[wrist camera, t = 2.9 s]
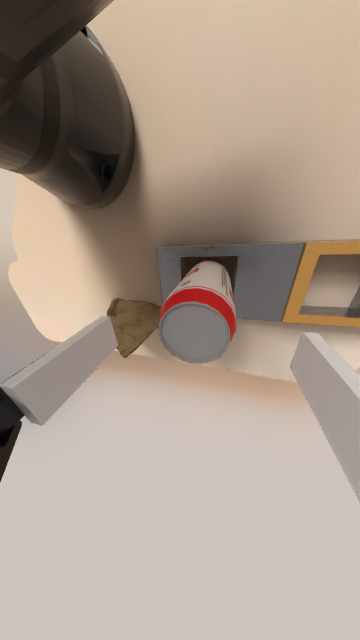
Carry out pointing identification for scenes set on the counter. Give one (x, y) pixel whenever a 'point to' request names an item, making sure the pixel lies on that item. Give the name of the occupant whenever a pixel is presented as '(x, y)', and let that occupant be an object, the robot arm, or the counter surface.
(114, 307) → the rock
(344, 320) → the grey slotted tray
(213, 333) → the beer can
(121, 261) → the counter surface
